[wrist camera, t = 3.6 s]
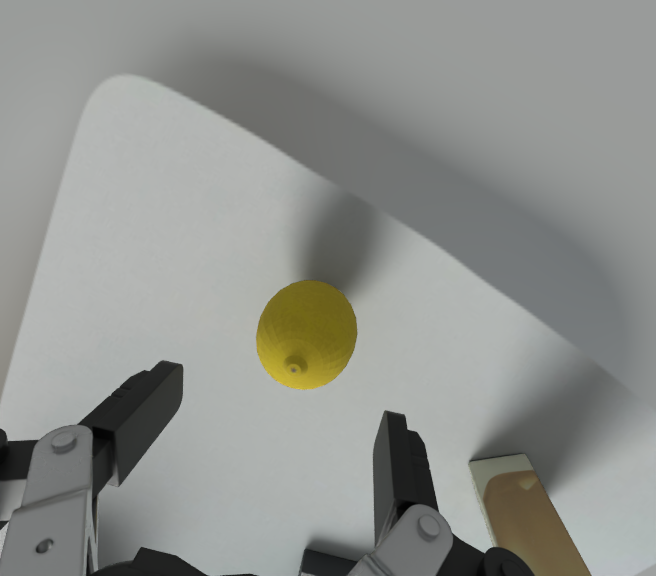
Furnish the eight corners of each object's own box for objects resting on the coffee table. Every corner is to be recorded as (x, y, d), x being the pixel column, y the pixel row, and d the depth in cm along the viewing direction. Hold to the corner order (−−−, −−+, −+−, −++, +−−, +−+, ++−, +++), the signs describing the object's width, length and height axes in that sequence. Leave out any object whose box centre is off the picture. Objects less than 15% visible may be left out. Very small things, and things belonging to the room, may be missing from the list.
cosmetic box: (538, 509, 27) (666, 767, 15) (482, 516, 28) (562, 764, 16) (525, 448, 25) (659, 689, 13) (465, 458, 26) (542, 691, 14)
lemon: (375, 298, 22) (379, 366, 15) (326, 353, 24) (306, 438, 16) (309, 247, 21) (277, 291, 14) (263, 308, 23) (213, 375, 16)
